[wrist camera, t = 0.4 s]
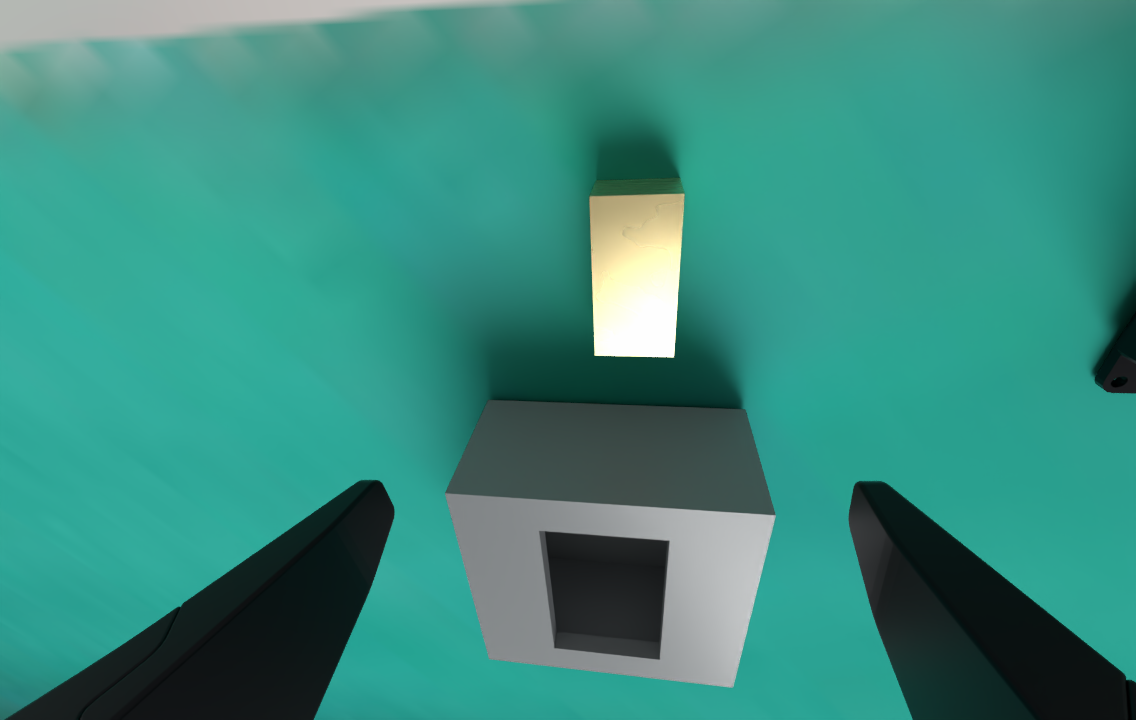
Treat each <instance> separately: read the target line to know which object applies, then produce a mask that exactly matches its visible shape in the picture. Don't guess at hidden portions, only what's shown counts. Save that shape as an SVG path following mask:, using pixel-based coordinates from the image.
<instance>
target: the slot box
mask: <svg viewBox="0 0 1136 720" xmlns="http://www.w3.org/2000/svg"><path fill="white" fill-rule="evenodd" d="M445 495H446V499H447V503H448V506H449V510H450V514H451V518H452V521H453V525H454V529H455V532H456V536H457V540H458V544H459V547H460V551H461V555H462V559H463V562H464V566H465V570H466V574H467V577H468V581H469V585H470V589H471V592H472V596H473V600H474V604H475V607H476V611H477V615H478V619H479V622H480V626H481V630H482V634H483V637H484V641H485V645H486V648H487V652H488V656H489V659H493V660H502V661H510V662H519V663H527V664H536V665H545V666H553V667H562V668H570V669H579V670H587V671H596V672H604V673H613V674H621V675H630V676H639V677H647V678H656V679H664V680H673V681H681V682H690V683H698V684H707V685H715V686H724V687H733V685H734V681H735V677H736V673H737V669H738V665H739V661H740V657H741V653H742V649H743V645H744V641H745V637H746V633H747V629H748V625H749V621H750V617H751V613H752V609H753V605H754V601H755V597H756V593H757V589H758V585H759V581H760V577H761V572H762V568H763V564H764V560H765V556H766V552H767V548H768V544H769V540H770V536H771V532H772V528H773V524H774V520H775V516H776V515H775V511H774V508H773V504H772V501H771V497H770V494H769V490H768V487H767V483H766V480H765V476H764V473H763V469H762V466H761V462H760V459H759V455H758V452H757V448H756V445H755V441H754V438H753V434H752V431H751V427H750V424H749V420H748V417H747V413H746V410H745V409H721V408H694V407H667V406H640V405H613V404H586V403H559V402H532V401H505V400H488V401H487V403H486V406H485V408H484V410H483V412H482V414H481V416H480V419H479V421H478V423H477V425H476V427H475V429H474V432H473V434H472V436H471V438H470V440H469V442H468V445H467V447H466V449H465V451H464V453H463V455H462V458H461V460H460V462H459V464H458V466H457V468H456V471H455V473H454V475H453V477H452V479H451V481H450V484H449V486H448V488H447V490H446V492H445Z"/></svg>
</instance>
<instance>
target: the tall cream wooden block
mask: <svg viewBox="0 0 1136 720" xmlns="http://www.w3.org/2000/svg"><path fill="white" fill-rule="evenodd" d="M589 199H590V228H591V257H592V286H593V315H594V344H595V356H641V357H674V348H675V332H676V317H677V302H678V286H679V271H680V256H681V240H682V225H683V210H684V190H683V187H682V183H681V179H680V178H656V179H626V180H596V182H595V184H594V187H593V189H592V191H591V194H590V196H589Z"/></svg>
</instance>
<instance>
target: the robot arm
mask: <svg viewBox="0 0 1136 720" xmlns="http://www.w3.org/2000/svg"><path fill="white" fill-rule="evenodd" d="M1115 378H1116V379H1115ZM1114 379H1115V380H1114ZM1095 383H1096V384H1097V385H1098V386H1100V387H1101V388H1103V389H1104V390H1105V391H1107V392H1111V393H1136V312H1135V314H1134V315H1133V317H1132V318H1131V320H1130V322H1129V323H1128V325H1127V326H1126V328H1125V330H1124V331H1123V333H1122V334H1121V336H1120V338H1119V339H1118V341H1117V343H1116V344H1115V346H1114V347H1113V349H1112V351H1111V352H1110V354H1109V355H1108V357H1107V359H1106V360H1105V362H1104V364H1103V365H1102V367H1101V368H1100V370H1099V372H1098V373H1097V375H1096V377H1095ZM393 519H394V506H393V504H392V502H391V500H390V498H389V496H388V494H387V492H386V490H385V488H384V486H383V484H382V483H381V482H380V481H378V480H361V481H358V482H357V483H355V484H354V485H352V486H351V487H350V488H348V489H347V490H345V491H344V492H342V493H341V494H339V495H338V496H337V497H335V498H334V499H332V500H331V501H329V502H328V503H327V504H325V505H324V506H322V507H321V508H319V509H318V510H316V511H315V512H314V513H312V514H311V515H309V516H308V517H306V518H305V519H304V520H302V521H301V522H299V523H298V524H296V525H295V526H293V527H292V528H291V529H289V530H288V531H286V532H285V533H283V534H282V535H281V536H279V537H278V538H276V539H275V540H273V541H272V542H270V543H269V544H268V545H266V546H265V547H263V548H262V549H260V550H259V551H258V552H256V553H255V554H253V555H252V556H250V557H249V558H247V559H246V560H245V561H243V562H242V563H240V564H239V565H237V566H236V567H234V568H233V569H232V570H230V571H229V572H227V573H226V574H224V575H223V576H222V577H220V578H219V579H217V580H216V581H214V582H213V583H211V584H210V585H209V586H207V587H206V588H204V589H203V590H201V591H200V592H199V593H197V594H196V595H194V596H193V597H191V598H190V599H188V600H187V601H186V602H184V603H183V604H182V606H181V607H177V608H175V609H174V610H172V611H171V612H170V613H168V614H167V615H165V616H164V617H163V618H161V619H160V620H158V621H157V622H155V623H154V624H152V625H151V626H149V627H148V628H147V629H145V630H144V631H142V632H141V633H139V634H138V635H136V636H135V637H133V638H132V639H130V640H129V641H127V642H126V643H124V644H123V645H121V646H120V647H118V648H117V649H115V650H114V651H112V652H110V653H109V654H107V655H106V656H104V657H103V658H101V659H100V660H98V661H96V662H95V663H93V664H92V665H90V666H89V667H87V668H86V669H84V670H82V671H81V672H79V673H78V674H76V675H75V676H73V677H71V678H70V679H68V680H67V681H65V682H63V683H62V684H60V685H59V686H57V687H55V688H54V689H52V690H51V691H49V692H48V693H46V694H44V695H43V696H41V697H40V698H38V699H36V700H35V701H33V702H32V703H30V704H29V705H27V706H25V707H24V708H22V709H21V710H19V711H17V712H16V713H14V714H13V715H11V716H9V717H8V718H6V719H5V720H314V718H315V715H316V713H317V711H318V708H319V706H320V704H321V702H322V699H323V697H324V695H325V692H326V690H327V688H328V686H329V683H330V681H331V679H332V676H333V674H334V672H335V669H336V667H337V665H338V663H339V660H340V658H341V656H342V653H343V651H344V649H345V647H346V644H347V642H348V640H349V637H350V635H351V633H352V630H353V628H354V626H355V624H356V621H357V619H358V617H359V614H360V612H361V610H362V608H363V605H364V603H365V601H366V598H367V596H368V593H369V591H370V588H371V586H372V583H373V580H374V577H375V574H376V571H377V568H378V565H379V562H380V559H381V556H382V553H383V550H384V547H385V544H386V541H387V538H388V535H389V532H390V529H391V526H392V522H393ZM849 526H850V531H851V535H852V538H853V542H854V546H855V550H856V554H857V557H858V561H859V565H860V569H861V572H862V576H863V580H864V584H865V588H866V591H867V595H868V599H869V603H870V606H871V610H872V613H873V617H874V620H875V623H876V625H877V628H878V631H879V634H880V636H881V639H882V641H883V644H884V647H885V649H886V652H887V654H888V657H889V659H890V662H891V665H892V667H893V670H894V672H895V675H896V677H897V680H898V683H899V685H900V688H901V690H902V693H903V695H904V698H905V701H906V703H907V706H908V708H909V711H910V713H911V716H912V719H913V720H1136V682H1134V681H1132V680H1126V676H1125V674H1124V673H1123V672H1121V671H1120V670H1119V669H1118V668H1116V667H1115V666H1114V665H1113V664H1111V663H1110V662H1109V661H1108V660H1107V659H1105V658H1104V657H1103V656H1102V655H1100V654H1099V653H1098V652H1097V651H1095V650H1094V649H1093V648H1092V647H1090V646H1089V645H1088V644H1087V643H1085V642H1084V641H1083V640H1082V639H1080V638H1079V637H1078V636H1077V635H1075V634H1074V633H1073V632H1072V631H1070V630H1069V629H1068V628H1067V627H1065V626H1064V625H1063V624H1062V623H1060V622H1059V621H1058V620H1057V619H1055V618H1054V617H1053V616H1052V615H1050V614H1049V613H1048V612H1047V611H1045V610H1044V609H1043V608H1042V607H1040V606H1039V605H1038V604H1037V603H1035V602H1034V601H1033V600H1032V599H1030V598H1029V597H1028V596H1027V595H1025V594H1024V593H1023V592H1022V591H1020V590H1019V589H1018V588H1017V587H1015V586H1014V585H1013V584H1012V583H1010V582H1009V581H1008V580H1007V579H1005V578H1004V577H1003V576H1002V575H1000V574H999V573H998V572H997V571H995V570H994V569H993V568H992V567H990V566H989V565H988V564H987V563H985V562H984V561H983V560H982V559H981V558H979V557H978V556H977V555H976V554H974V553H973V552H972V551H971V550H969V549H968V548H967V547H966V546H964V545H963V544H962V543H961V542H959V541H958V540H957V539H956V538H954V537H953V536H952V535H951V534H949V533H948V532H947V531H946V530H944V529H943V528H942V527H941V526H939V525H938V524H937V523H936V522H934V521H933V520H932V519H931V518H929V517H928V516H927V515H926V514H924V513H923V512H922V511H921V510H919V509H918V508H917V507H916V506H914V505H913V504H912V503H911V502H909V501H908V500H907V499H906V498H904V497H903V496H902V495H901V494H899V493H898V492H897V491H896V490H894V489H893V488H892V487H891V486H889V485H888V484H887V483H885V482H882V481H859V482H857V483H856V484H855V485H854V489H853V494H852V499H851V505H850V510H849Z"/></svg>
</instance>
